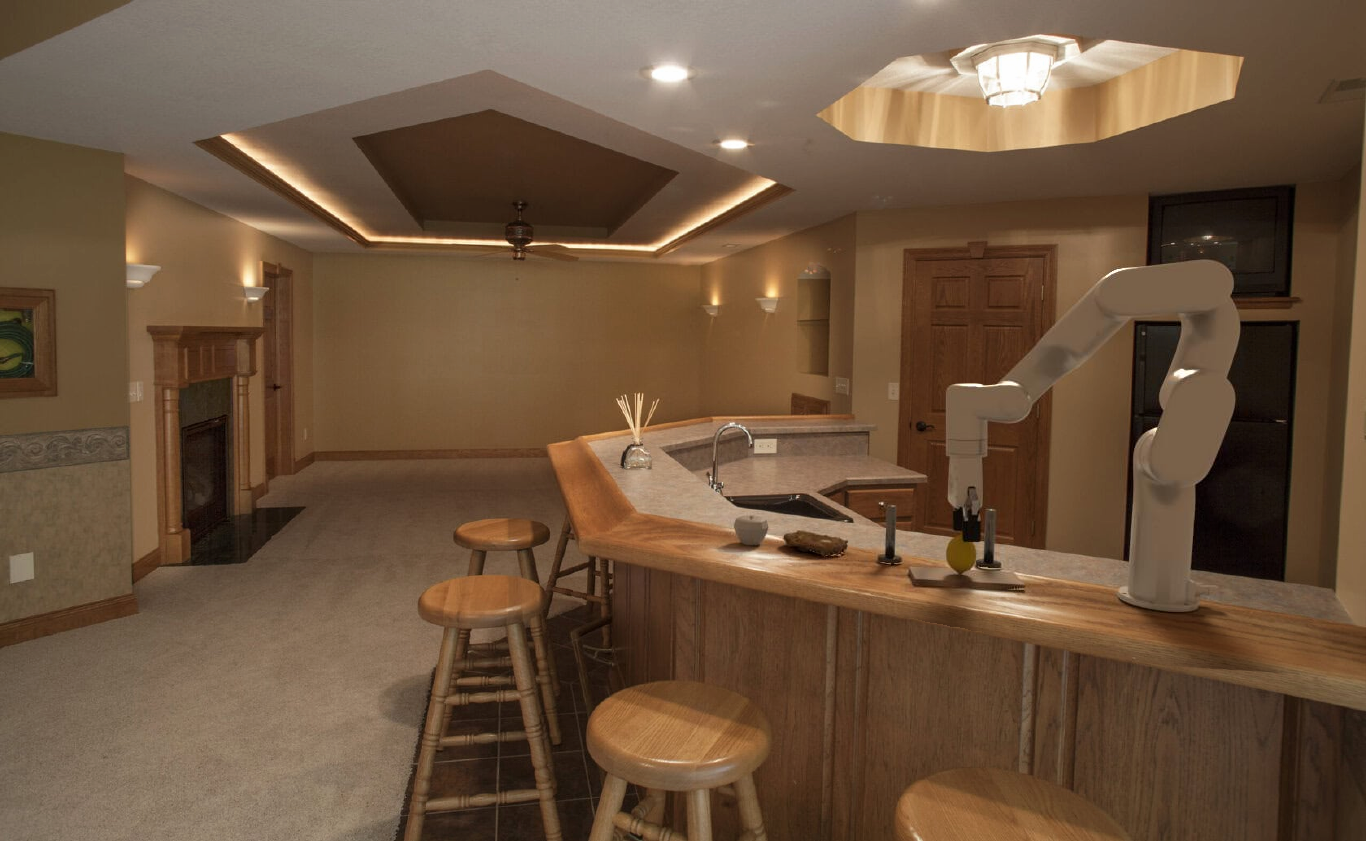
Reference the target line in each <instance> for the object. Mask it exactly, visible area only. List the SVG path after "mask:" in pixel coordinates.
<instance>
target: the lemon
mask: <svg viewBox="0 0 1366 841" xmlns="http://www.w3.org/2000/svg"><path fill="white" fill-rule="evenodd" d="M945 551H946V553H945V557H946V562H947V564H948V566H949V568H951V569H953V570H955V571H956V572H957V573H958V574H963V573H964V572H965V571H968V570H970V569H971V570H972V568H973V567H974V566H975V565H976V560H977V549H976V545H975V542H964V541H963V540H962V533H961V534H959V535H956V536H954V537H952V538H951V539H950V540H949V542H948V544H947V547H946V550H945Z"/></svg>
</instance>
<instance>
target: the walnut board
mask: <svg viewBox="0 0 1366 841" xmlns="http://www.w3.org/2000/svg"><path fill="white" fill-rule="evenodd" d="M908 574H909V575H910V578H911V580H912V582H913V584H914V585H915V586H925V587H926V586H927V587H928V586H929V587H944V588H965V589H986V590H999V589H1014V588H1015V589H1017V588H1018V589H1019V588H1025V589H1026V584H1025V583H1024V582H1023V580H1021V579H1020V577H1018V576H1017V574H1016V573H1015V572H1014V571H1007V570H1006V571H1005V570H985V569H972V568H971V569H970V570H968V571H965V572H964V573H963V574H958V573H957V572H956V571H955V570H953V569H952V568H951V567H949V568H947V567H931V566H930V567H928V566H910V565H909V566H908Z"/></svg>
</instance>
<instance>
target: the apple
mask: <svg viewBox="0 0 1366 841" xmlns="http://www.w3.org/2000/svg"><path fill="white" fill-rule="evenodd" d="M733 528H734V531H735V536H736V537H737V539H738V541H740V543H741V544H743V545H745V546H758V545H760V544H761V543H762V542H763V541H764V539H765V538H766V536H767V533H768V530H769V523H768V521H767V519H766V518H764V517H763V516H759V515H751V514H750V515H741V516H738V517H736V518H735V521H734V524H733Z"/></svg>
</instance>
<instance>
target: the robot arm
mask: <svg viewBox="0 0 1366 841" xmlns="http://www.w3.org/2000/svg"><path fill="white" fill-rule="evenodd" d="M1234 283H1235V282H1234V277H1233V273H1232V272H1231V271H1230V269H1229V268H1228V267H1227V266H1225V264H1222V263H1221V262H1220V261H1217V260H1212V259H1198V260H1197V259H1195V260H1188V261H1179V262H1171V263H1164V264H1155V265H1148V266H1147V265H1145V266H1137V267H1125V268H1119V269H1116V270H1114V271H1112V272H1110V273H1108V274H1107V275H1104V276H1103V277H1102V278H1101V279H1100V280H1099V281H1097V283H1095V285H1093V287H1091V289H1089V290H1088V291H1087V292H1086V294H1084V295H1083V297H1081V298H1080V299H1079V300H1078V301H1077V302H1076V303H1075V304H1074V305H1073V306H1072V307H1071V308H1070V309H1069V310H1068V311H1067V312H1066V313H1065V314H1064V315H1063V316H1062V317H1061V318H1060V319H1059V320H1058V321H1057V322H1056V323H1055V324H1054V325H1053V326H1052V327H1051V328H1049V329H1048V331H1046V333H1044V335H1043V336H1042V337H1041V338H1040V340H1038V342H1037V343H1036V344H1035V346H1034V347H1033V348H1032V349H1031V350H1030V351H1029V352H1028V353H1027V354H1026V355H1025V356H1024V357H1023V358H1022V359H1021V360H1020V361H1019V362H1018V363H1017V364H1016V365H1015V366H1014V367H1013V368H1012V369H1011V370H1010V371H1008V373H1007V374H1005V375H1004V377H1002V379H1000V381H998V382H997V384H991V385H990V384H989V385H984V384H981V383H955V384H951V385H949V386H948V387H947V388H946V392H945V456H946V457H949V464H948V481H947V482H948V484H947V485H948V486H947V501H948V502H949V503H950V505H951V506H952V509H953V510H952V530H953V531H954V532H961V534H962V540H963V541H964V542H973V543H980V542H981V541H982V540H981V539H982V538H981V537H982V536H981V535H982V533H981V532H982V530H981V529H982V527H981V525H982V521H981V510H980V509H981V508H982V507H983V498H984V494H983V493H984V492H983V491H984V490H983V488H984V487H983V486H984V485H983V484H984V482H983V478H984V477H983V476H984V475H983V459H982V458H986V457H988V422H996V423H1003V424H1014V423H1015V424H1016V423H1019V422H1020V421H1024V420H1025V418H1027V416H1029V414H1031V410H1032V407H1033V405H1034V404H1035V403H1036V401H1037V400H1039V398H1040V397H1042V395H1044V394H1045V393H1046V392H1047V391H1048V390H1049V389H1050V388H1051V387H1052V386H1054V385H1055V384H1056V383H1057V382H1058V381H1059V380H1060V379H1062V378H1063V377H1065V376H1066V375H1067V374H1069V373H1071V372H1073V371H1075V370H1076V369H1078V368H1080V367H1081V366H1082V365H1083V364H1084V363H1086V362H1087V361H1088V360H1089V359H1090V358H1092V356H1093V355H1094V354H1095V353H1096V352H1098V350H1100V349H1101V348H1102V346H1104V345H1105V344H1106V343H1107V342H1108V341H1109V340H1110V339H1111V338H1112V337H1113V336H1114V335H1116V333H1117V332H1118V331H1119V330H1121V328H1123V327H1124V326H1125V325H1126V324H1127V322H1129V321H1130V320H1131V319H1133V318H1142V317H1156V316H1157V317H1158V316H1167V315H1168V316H1169V315H1178V318H1179V319H1180V322H1181V332H1180V337H1179V340H1178V343H1177V347H1176V351H1175V353H1174V356H1173V358H1172V360H1171V364H1170V366H1169V369H1168V372H1167V374H1166V376H1165V379H1164V381H1163V383H1162V385H1161V387H1160V391H1159V397H1158V400H1159V405H1160V407H1161V409H1162V410H1163V411H1162V414H1161V416H1160V419H1159V423H1158V425H1157V427H1154V428H1152V429H1150V430H1147V431H1146V432H1144V433H1143V434H1142V435H1141V436H1140V437H1139V439H1138V441H1137V442H1136V443H1135V447H1134V451H1133V456H1132V457H1133V460H1132V462H1133V463H1132V464H1133V466H1132V469H1133V470H1132V471H1133V475H1132V476H1133V496H1132V497H1133V498H1132V513H1131V526H1130V527H1131V528H1130V545H1129V558H1128V559H1129V560H1128V561H1129V562H1128V571H1127V572H1128V575H1127V576H1128V577H1127V585H1124V586H1121V587H1119V588H1118V589H1117V593H1116V594H1117V598H1118V599H1120V600H1121V601H1123V602H1125V603H1128V604H1130V605H1132V606H1136V607H1140V608H1142V609H1143V608H1144V609H1147V610H1154V611H1158V612H1159V611H1160V612H1161V611H1162V612H1172V613H1186V612H1187V613H1188V612H1192V611H1196V610H1197V609H1198V608H1199V599H1197V598H1199V597H1200V596H1206V597H1219V596H1220V590H1221V589H1220V587H1219V585H1214V584H1213V585H1209V584H1205V583H1203V582H1195V580H1192V579H1191V570H1192V568H1191V566H1192V555H1193V552H1192V550H1193V538H1194V537H1193V536H1194V525H1195V524H1194V523H1195V516H1196V515H1195V513H1196V512H1195V511H1196V485H1197V484H1198V483H1200V482H1201V481H1202V480H1204V478H1206V476H1207V475H1208V473H1209V472H1210V470H1211V468H1212V467H1213V465H1214V462H1215V460H1216V458H1217V455H1218V452H1219V451H1220V448H1221V445H1222V443H1223V440H1224V438H1225V435H1226V432H1227V429H1228V427H1229V425H1230V422H1231V419H1232V418H1233V414H1234V410H1235V405H1236V392H1235V388H1234V387H1233V385H1232V383H1231V382H1230V380H1229V379H1228V375H1229V372H1230V369H1231V366H1232V363H1233V360H1234V356H1235V354H1236V351H1237V348H1238V344H1239V340H1240V337H1241V336H1240V335H1241V321H1240V315H1239V312H1238V310H1237V309H1238V308H1237V306H1236V304H1235V303H1234V301H1233V299H1232V297H1231V295H1232V292H1233V291H1234V285H1235V284H1234Z"/></svg>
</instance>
